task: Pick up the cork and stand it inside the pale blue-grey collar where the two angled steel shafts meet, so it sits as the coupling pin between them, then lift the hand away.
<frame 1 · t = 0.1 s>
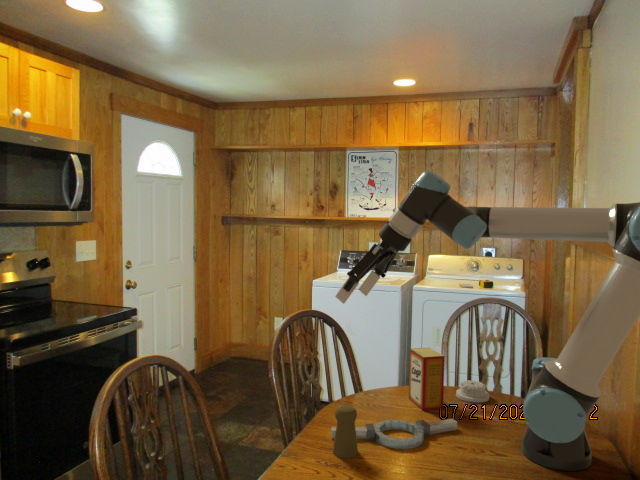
hand: (351, 296, 130), 36 cm above the table, tool tilted 35°, fingers open, 13 cm apart
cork: (345, 453, 122), on the table
baking soda box: (425, 404, 154), on the table
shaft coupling: (398, 437, 130), on the table
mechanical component: (472, 398, 160), on the table
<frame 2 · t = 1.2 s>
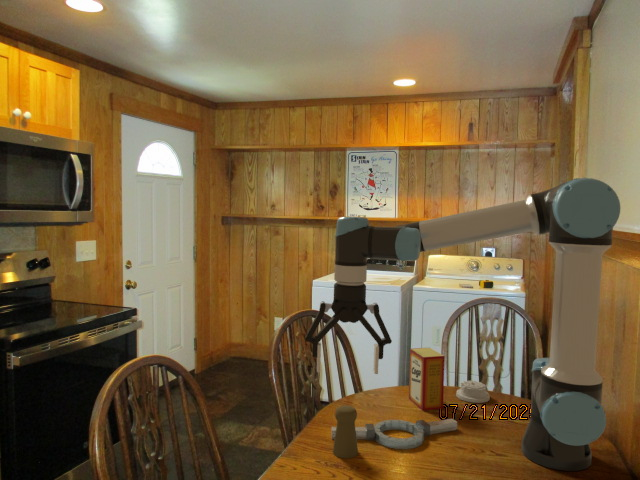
hand: (347, 371, 121), 19 cm above the table, tool pointing down, fingers open, 13 cm apart
nothing on the table moved.
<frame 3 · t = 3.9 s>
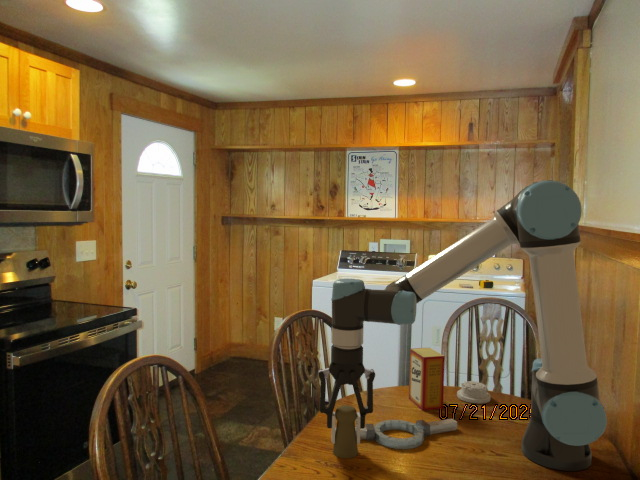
hand: (345, 440, 122), 3 cm above the table, tool pointing down, fingers closed on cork, 5 cm apart
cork: (345, 452, 122), on the table, touching gripper
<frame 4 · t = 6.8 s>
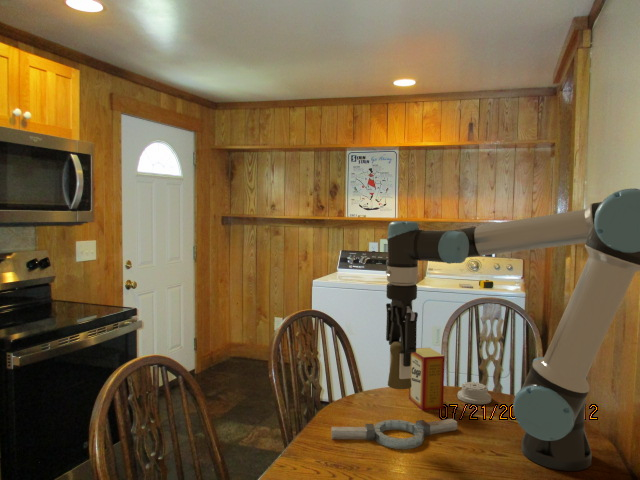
hand: (399, 374, 129), 16 cm above the table, tool pointing down, fingers closed on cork, 5 cm apart
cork: (399, 385, 130), point 13 cm above the table, touching gripper
when the fingers open (3 cm above the table, at t = 9.8 s): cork stays where it is, resting in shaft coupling.
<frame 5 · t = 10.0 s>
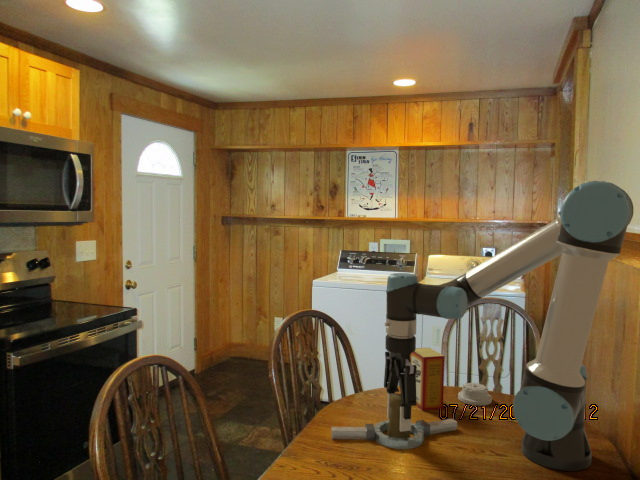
hand: (398, 423, 130), 4 cm above the table, tool pointing down, fingers open, 7 cm apart
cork: (398, 438, 130), resting in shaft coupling
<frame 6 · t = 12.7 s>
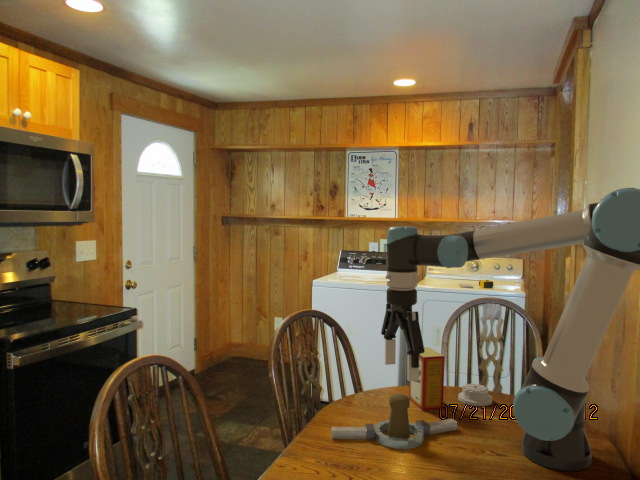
hand: (401, 371, 129), 17 cm above the table, tool pointing down, fingers open, 13 cm apart
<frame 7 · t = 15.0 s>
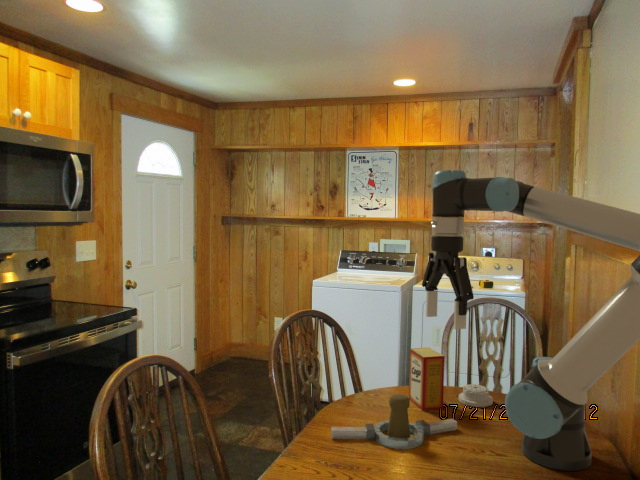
hand: (444, 322, 125), 31 cm above the table, tool pointing down, fingers open, 13 cm apart
at the end: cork 0.1 cm off-centre on the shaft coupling, point 0.0 cm above the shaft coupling's base; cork tilted 0°; the gripper is holding nothing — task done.
